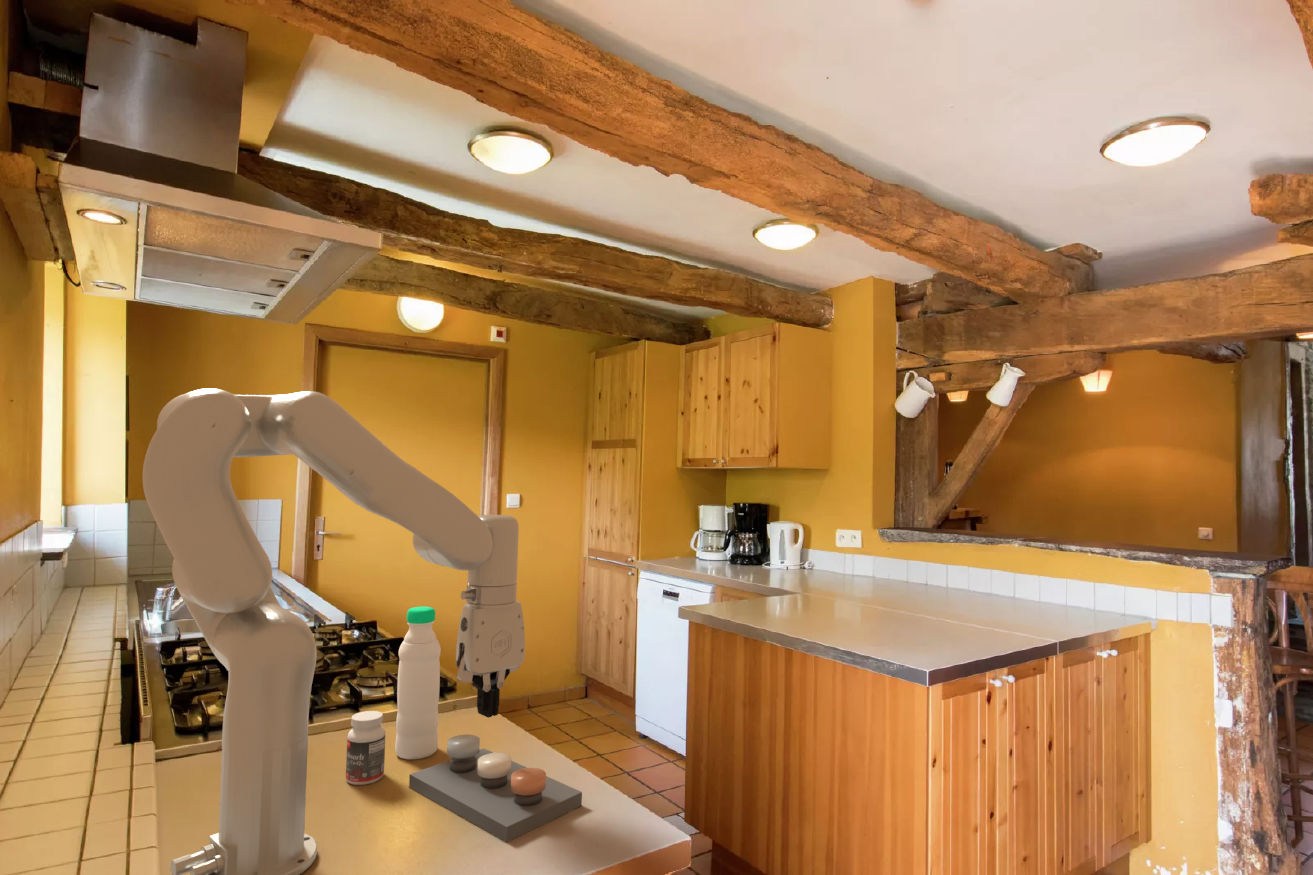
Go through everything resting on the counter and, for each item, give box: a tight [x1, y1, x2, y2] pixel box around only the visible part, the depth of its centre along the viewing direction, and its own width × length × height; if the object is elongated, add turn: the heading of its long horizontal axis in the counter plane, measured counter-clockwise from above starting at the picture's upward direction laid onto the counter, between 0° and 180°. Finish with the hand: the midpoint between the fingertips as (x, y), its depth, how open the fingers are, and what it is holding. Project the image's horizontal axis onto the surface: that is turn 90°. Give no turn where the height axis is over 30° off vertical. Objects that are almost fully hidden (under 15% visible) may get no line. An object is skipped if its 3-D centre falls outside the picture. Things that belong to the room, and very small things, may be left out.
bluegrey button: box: [446, 734, 481, 758], centre depth 115 cm, size 5×5×2 cm
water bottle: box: [394, 606, 442, 761], centre depth 126 cm, size 7×7×25 cm
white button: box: [477, 752, 512, 779], centre depth 110 cm, size 5×5×2 cm
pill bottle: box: [345, 710, 386, 786], centre depth 115 cm, size 6×6×10 cm
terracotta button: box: [511, 767, 547, 795], centre depth 105 cm, size 5×5×2 cm
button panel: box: [408, 747, 583, 843], centre depth 110 cm, size 14×24×3 cm, turn 50°
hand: (487, 714), depth 111 cm, fingers closed
